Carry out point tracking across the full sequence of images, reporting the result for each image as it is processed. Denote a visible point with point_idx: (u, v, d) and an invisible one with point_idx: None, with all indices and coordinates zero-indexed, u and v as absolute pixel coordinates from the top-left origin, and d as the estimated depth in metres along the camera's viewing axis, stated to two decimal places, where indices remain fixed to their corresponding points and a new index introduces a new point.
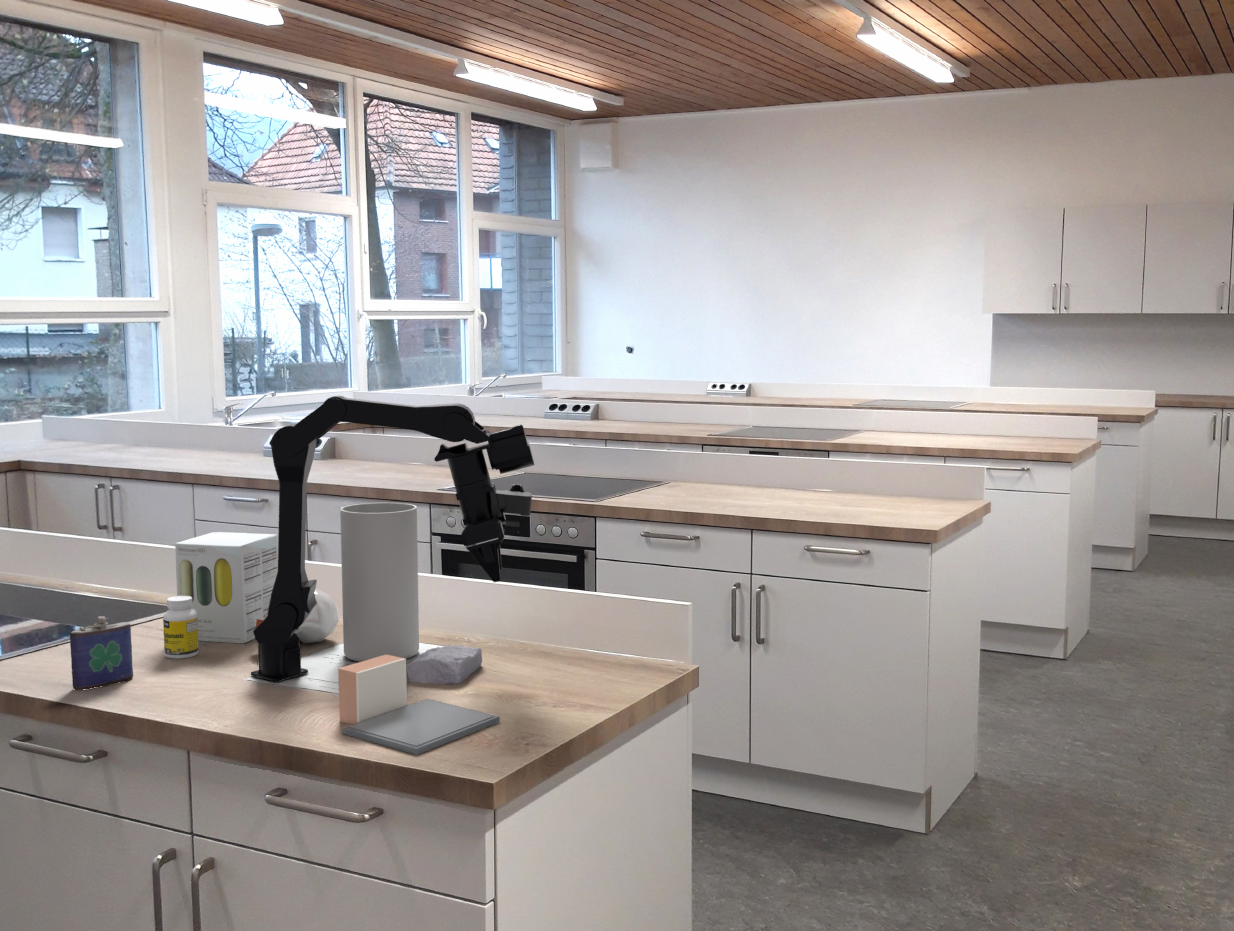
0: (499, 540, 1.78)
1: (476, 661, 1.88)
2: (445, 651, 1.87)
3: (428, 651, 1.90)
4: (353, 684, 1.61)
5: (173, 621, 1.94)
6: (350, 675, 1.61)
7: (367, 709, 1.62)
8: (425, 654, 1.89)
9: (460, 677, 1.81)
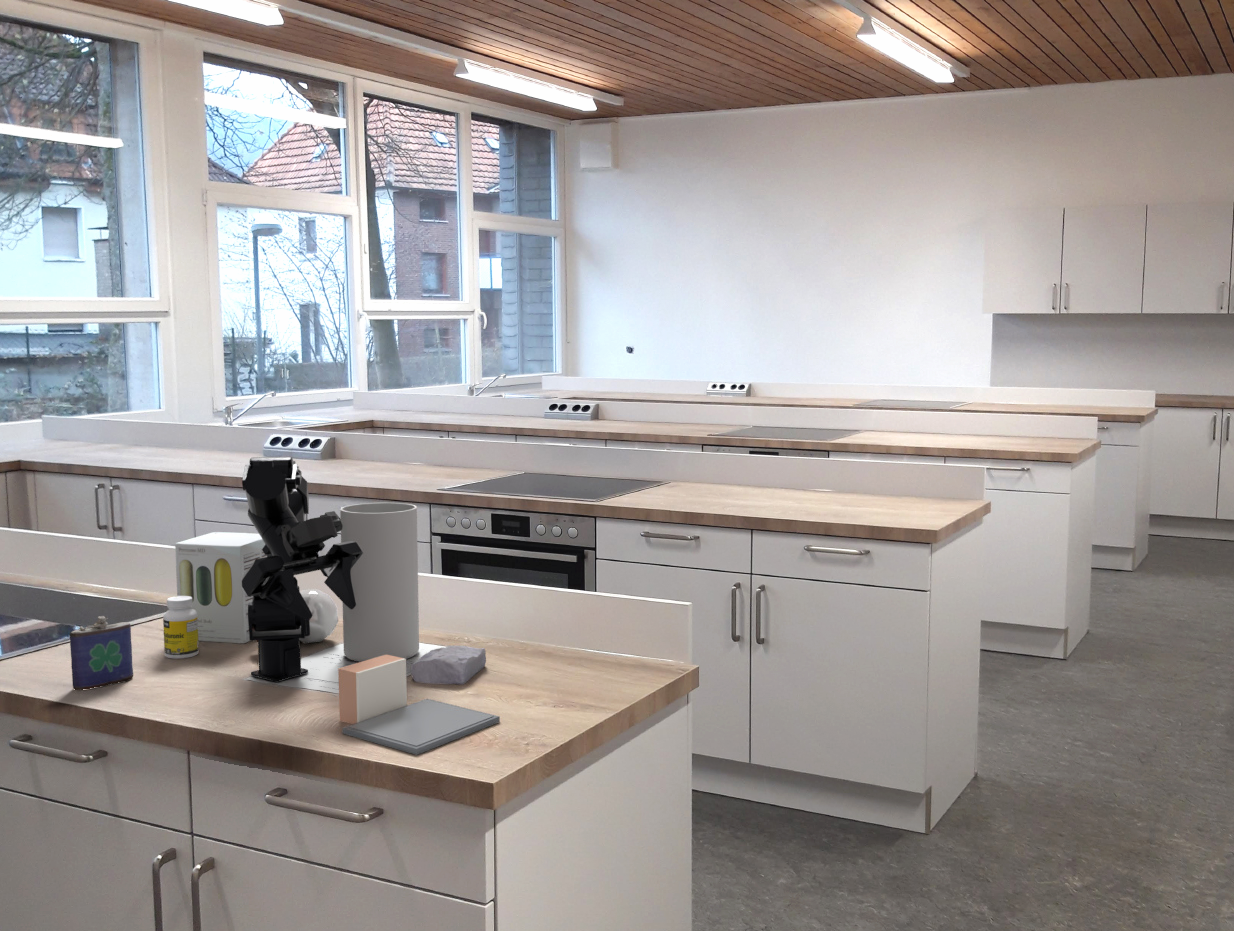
0: (274, 576, 1.64)
1: (480, 661, 1.88)
2: (449, 651, 1.87)
3: (432, 651, 1.90)
4: (353, 684, 1.61)
5: (173, 621, 1.94)
6: (350, 675, 1.61)
7: (367, 709, 1.62)
8: (429, 654, 1.89)
9: (464, 677, 1.80)
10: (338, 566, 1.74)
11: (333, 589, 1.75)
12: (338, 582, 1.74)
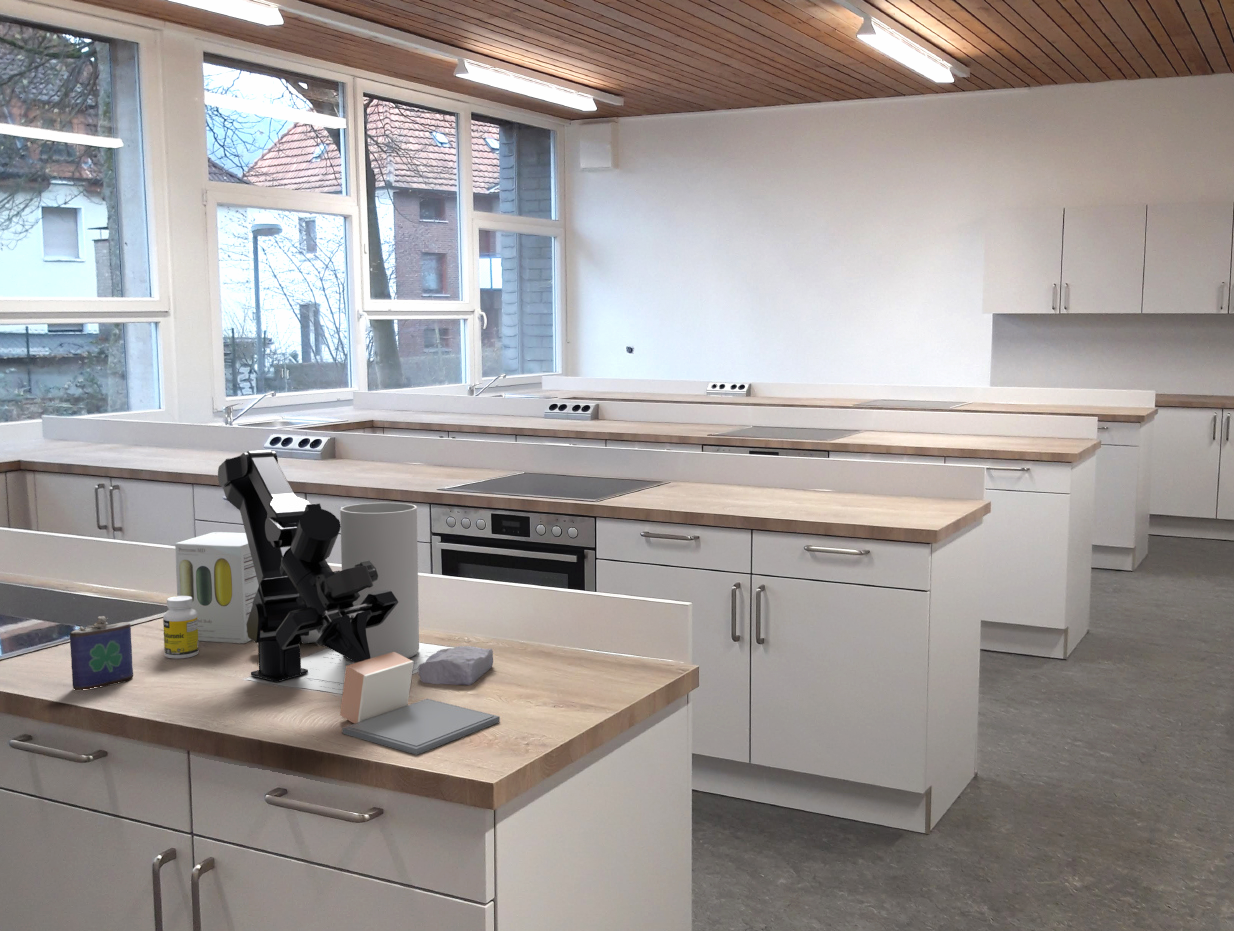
0: (331, 623, 1.63)
1: (488, 661, 1.87)
2: (456, 652, 1.87)
3: (439, 652, 1.90)
4: (359, 685, 1.60)
5: (173, 621, 1.94)
6: (357, 676, 1.60)
7: (369, 710, 1.62)
8: (436, 655, 1.88)
9: (472, 678, 1.80)
10: (353, 621, 1.67)
11: None
12: None
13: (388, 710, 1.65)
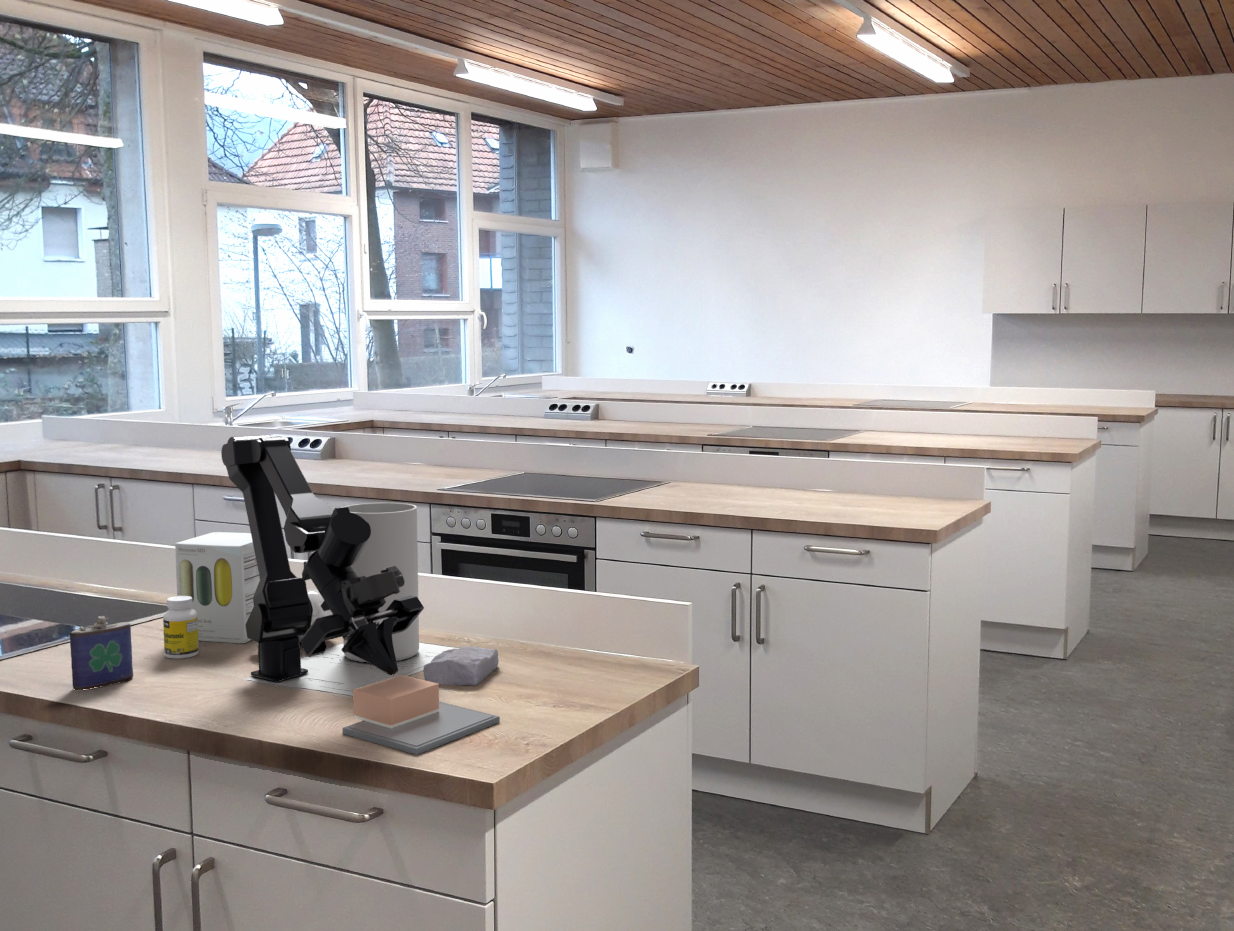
0: (358, 630, 1.60)
1: (493, 662, 1.87)
2: (461, 652, 1.87)
3: (444, 652, 1.89)
4: (382, 719, 1.58)
5: (173, 621, 1.94)
6: (388, 716, 1.57)
7: None
8: (441, 655, 1.88)
9: (477, 678, 1.80)
10: (379, 628, 1.64)
11: None
12: None
13: None
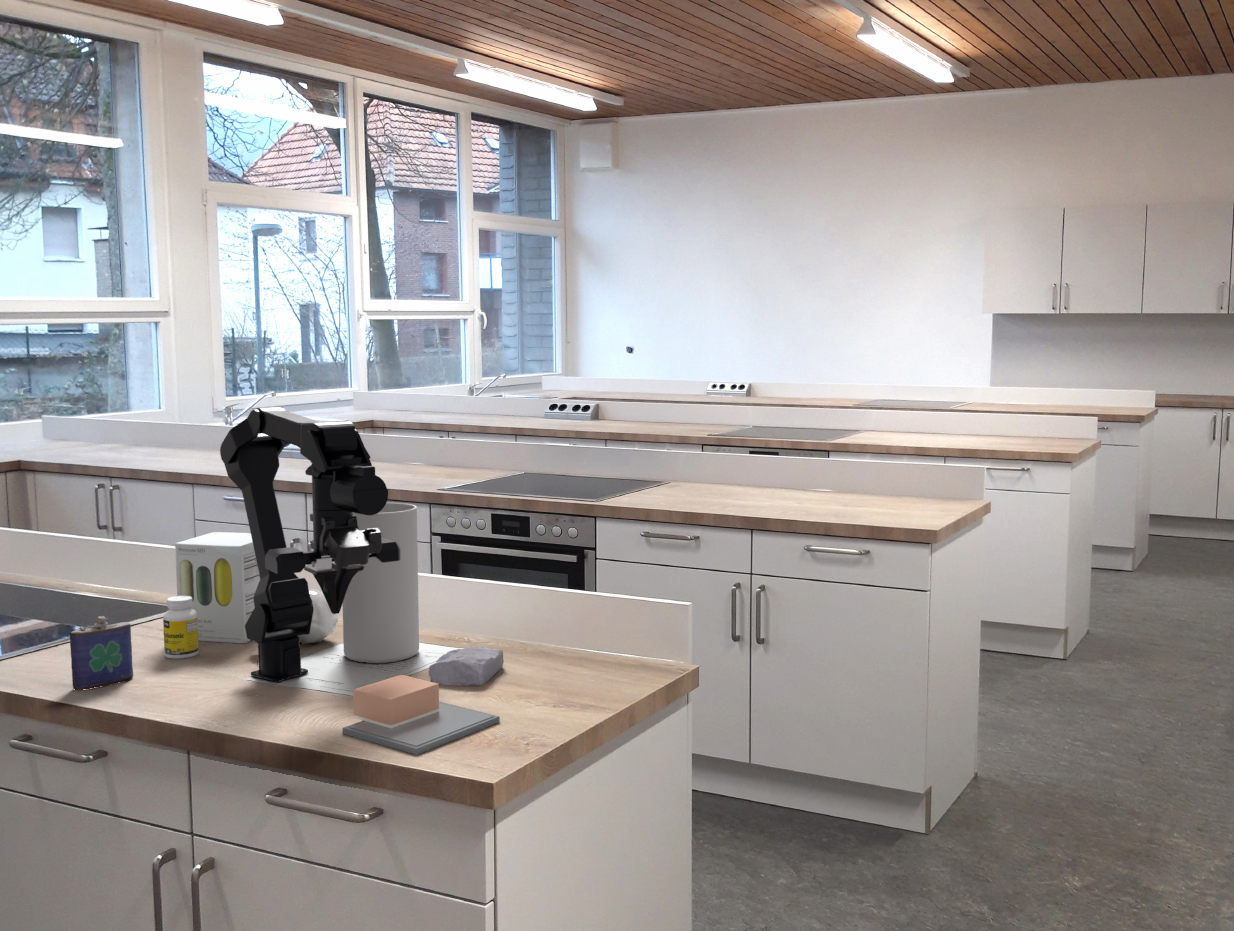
0: (316, 573, 1.67)
1: (498, 662, 1.87)
2: (466, 653, 1.87)
3: (449, 653, 1.89)
4: (382, 719, 1.58)
5: (173, 621, 1.94)
6: (388, 716, 1.57)
7: None
8: (446, 656, 1.88)
9: (483, 678, 1.80)
10: (342, 570, 1.70)
11: None
12: (337, 580, 1.71)
13: None
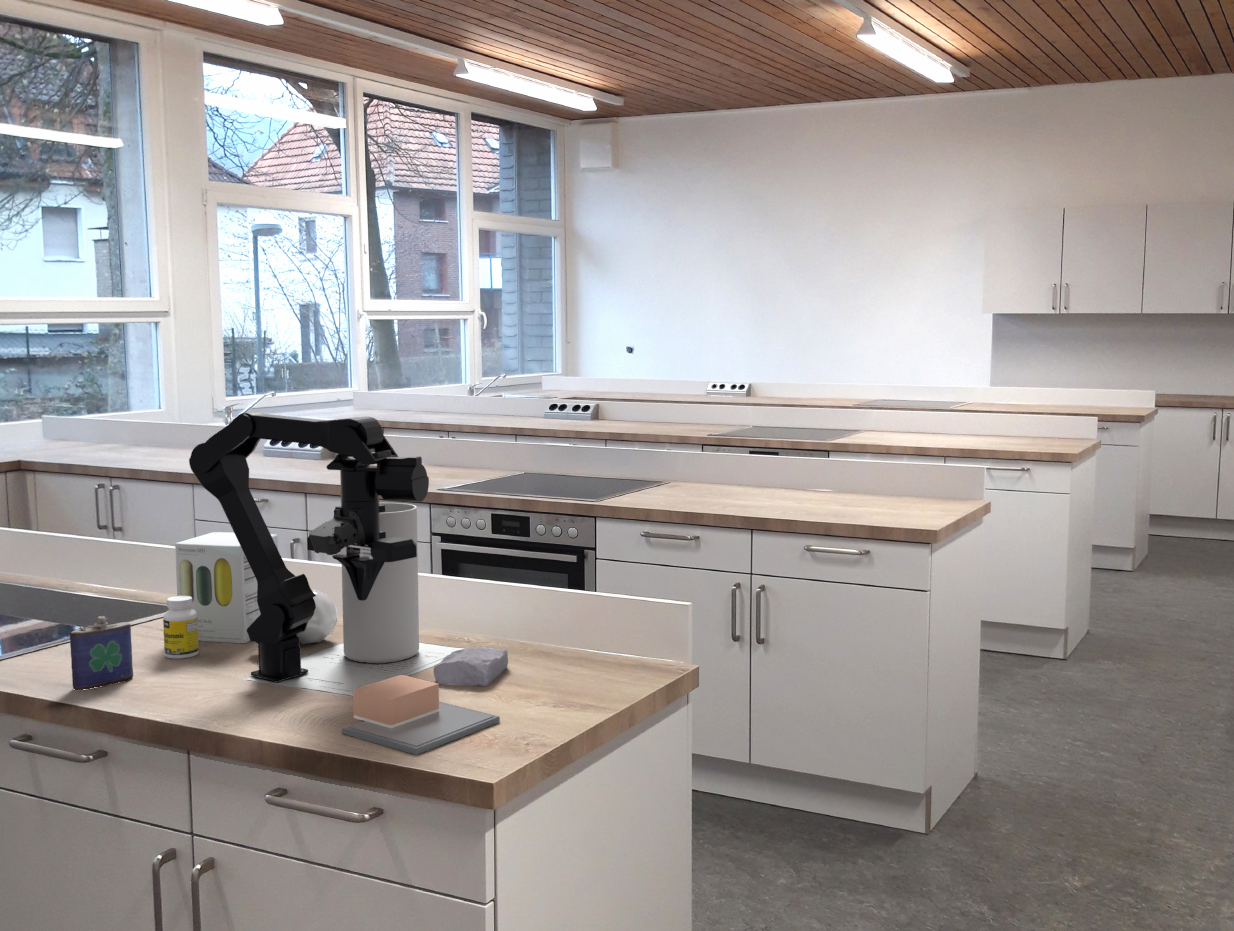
0: None
1: (503, 662, 1.87)
2: (471, 653, 1.86)
3: (454, 653, 1.89)
4: (382, 719, 1.58)
5: (173, 621, 1.94)
6: (388, 716, 1.57)
7: None
8: (451, 656, 1.88)
9: (488, 679, 1.80)
10: None
11: None
12: None
13: None
